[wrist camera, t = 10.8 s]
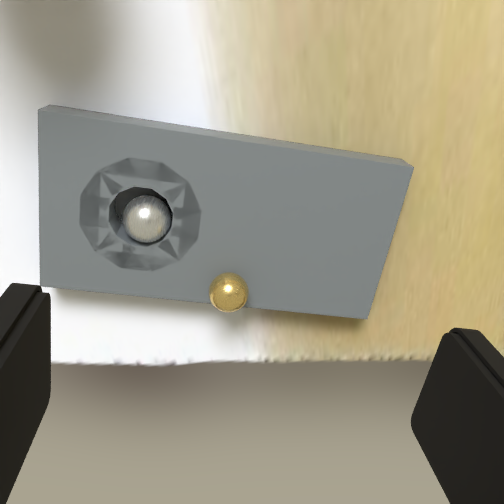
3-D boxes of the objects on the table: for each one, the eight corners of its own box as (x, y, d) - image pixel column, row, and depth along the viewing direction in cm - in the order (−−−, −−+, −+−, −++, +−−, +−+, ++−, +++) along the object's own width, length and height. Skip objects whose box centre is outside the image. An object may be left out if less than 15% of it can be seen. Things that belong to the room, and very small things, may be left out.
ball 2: (250, 267, 37) (253, 286, 34) (243, 301, 38) (246, 321, 35) (211, 263, 36) (211, 281, 34) (206, 297, 38) (206, 318, 35)
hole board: (401, 159, 37) (414, 167, 35) (358, 303, 42) (367, 319, 40) (49, 104, 33) (38, 109, 31) (49, 271, 38) (40, 286, 36)
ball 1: (167, 209, 33) (118, 198, 33) (161, 254, 34) (113, 244, 34) (178, 195, 36) (133, 185, 36) (171, 237, 38) (128, 227, 38)
